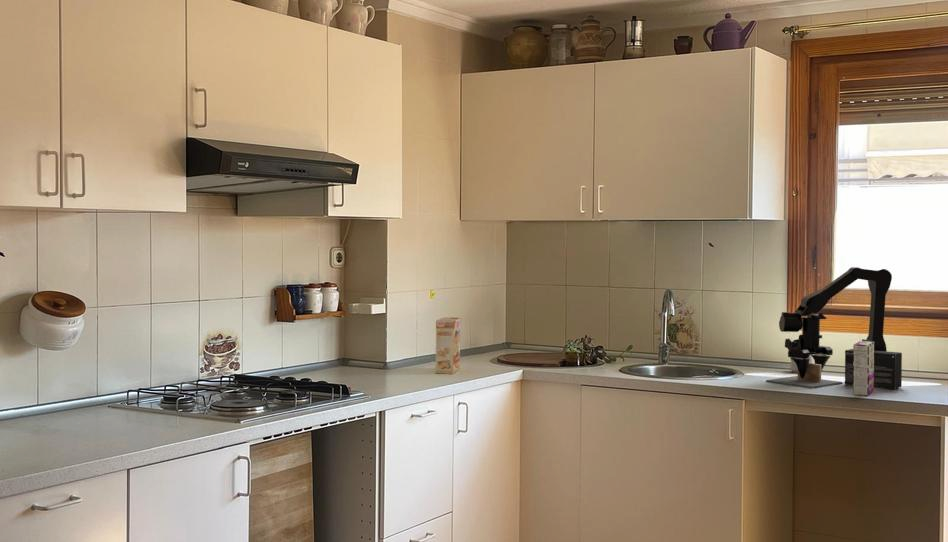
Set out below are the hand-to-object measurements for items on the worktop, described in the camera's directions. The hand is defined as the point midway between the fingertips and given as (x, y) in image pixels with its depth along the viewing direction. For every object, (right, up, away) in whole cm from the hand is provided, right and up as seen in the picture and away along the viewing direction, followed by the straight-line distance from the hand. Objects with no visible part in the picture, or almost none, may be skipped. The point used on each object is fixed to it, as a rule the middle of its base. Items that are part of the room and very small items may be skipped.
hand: (810, 376), depth 325 cm
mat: (-2, -2, 0) cm, 3 cm away
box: (+19, -3, -7) cm, 20 cm away
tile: (0, -1, 0) cm, 1 cm away
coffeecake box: (-126, -1, +22) cm, 128 cm away
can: (+6, -1, +26) cm, 27 cm away
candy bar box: (+9, -3, -22) cm, 24 cm away
